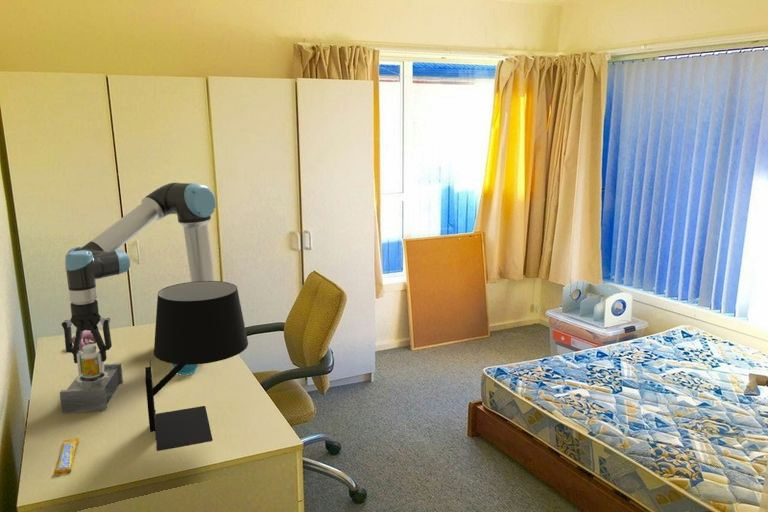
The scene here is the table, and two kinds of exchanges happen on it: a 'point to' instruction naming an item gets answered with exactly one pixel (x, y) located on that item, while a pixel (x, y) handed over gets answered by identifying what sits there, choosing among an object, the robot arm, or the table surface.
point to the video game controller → (85, 338)
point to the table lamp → (192, 350)
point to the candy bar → (67, 456)
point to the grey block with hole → (92, 391)
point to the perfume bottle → (187, 369)
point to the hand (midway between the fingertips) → (91, 371)
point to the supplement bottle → (90, 361)
